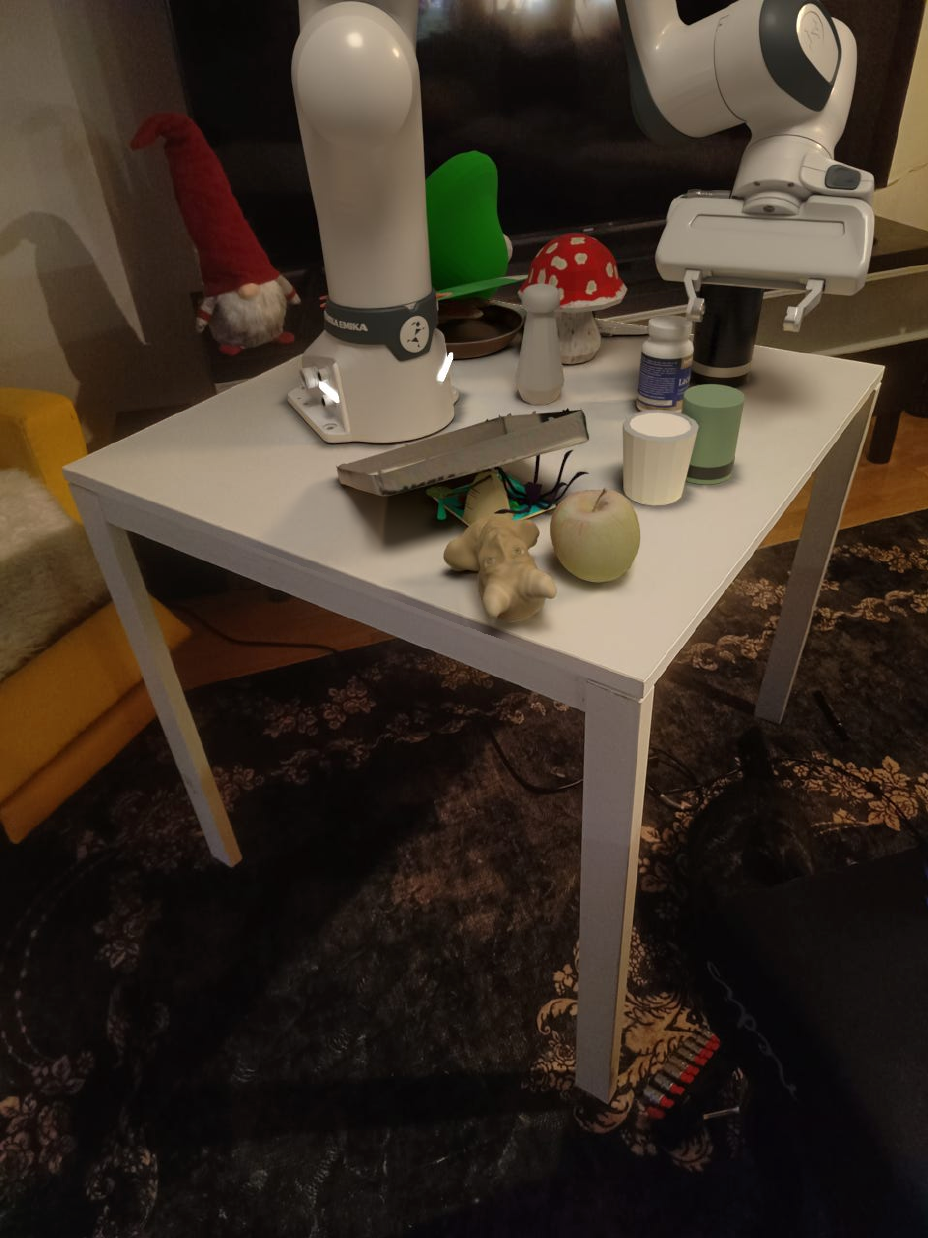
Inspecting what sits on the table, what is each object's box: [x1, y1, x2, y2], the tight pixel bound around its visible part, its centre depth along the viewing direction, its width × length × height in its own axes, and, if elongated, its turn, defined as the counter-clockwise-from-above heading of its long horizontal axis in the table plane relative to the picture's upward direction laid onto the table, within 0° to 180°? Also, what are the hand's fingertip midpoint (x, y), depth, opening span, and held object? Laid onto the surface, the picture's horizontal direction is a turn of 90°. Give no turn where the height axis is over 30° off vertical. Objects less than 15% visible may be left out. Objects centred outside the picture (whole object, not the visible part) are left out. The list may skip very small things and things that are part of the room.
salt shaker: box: [515, 284, 565, 406], centre depth 93 cm, size 6×6×13 cm
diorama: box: [425, 449, 589, 527], centre depth 75 cm, size 11×15×6 cm
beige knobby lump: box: [442, 516, 558, 623], centre depth 63 cm, size 8×7×12 cm
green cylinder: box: [681, 384, 746, 485], centre depth 78 cm, size 6×6×8 cm
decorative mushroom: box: [517, 233, 628, 365], centre depth 102 cm, size 14×14×15 cm
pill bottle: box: [635, 314, 694, 413], centre depth 90 cm, size 6×6×10 cm
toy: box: [425, 150, 513, 299], centre depth 120 cm, size 26×24×15 cm
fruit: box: [549, 487, 641, 583], centre depth 65 cm, size 8×7×8 cm
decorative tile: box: [335, 407, 590, 497], centre depth 75 cm, size 20×3×20 cm
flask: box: [690, 283, 765, 389], centre depth 95 cm, size 7×7×14 cm
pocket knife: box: [597, 326, 649, 338], centre depth 113 cm, size 14×1×2 cm
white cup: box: [622, 410, 699, 506], centre depth 76 cm, size 7×7×7 cm
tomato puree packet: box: [436, 274, 528, 301], centre depth 109 cm, size 15×1×20 cm
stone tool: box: [438, 297, 495, 323], centre depth 113 cm, size 14×3×15 cm
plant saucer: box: [436, 303, 524, 360], centre depth 113 cm, size 18×18×3 cm
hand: (740, 323), depth 79 cm, fingers open, 8 cm apart
